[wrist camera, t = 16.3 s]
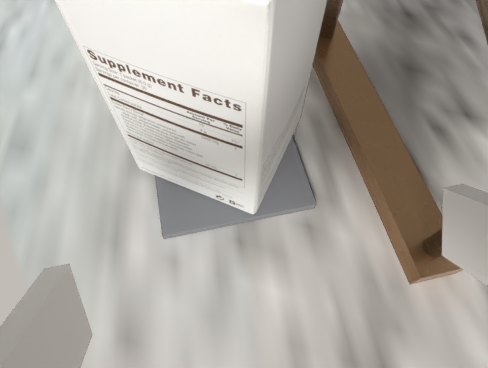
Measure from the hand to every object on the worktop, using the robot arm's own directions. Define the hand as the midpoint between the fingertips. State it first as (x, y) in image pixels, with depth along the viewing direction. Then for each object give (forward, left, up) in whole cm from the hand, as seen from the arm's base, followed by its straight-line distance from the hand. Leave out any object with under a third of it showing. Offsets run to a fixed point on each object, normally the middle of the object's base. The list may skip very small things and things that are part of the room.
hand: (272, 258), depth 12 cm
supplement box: (0, -11, -9) cm, 14 cm away
